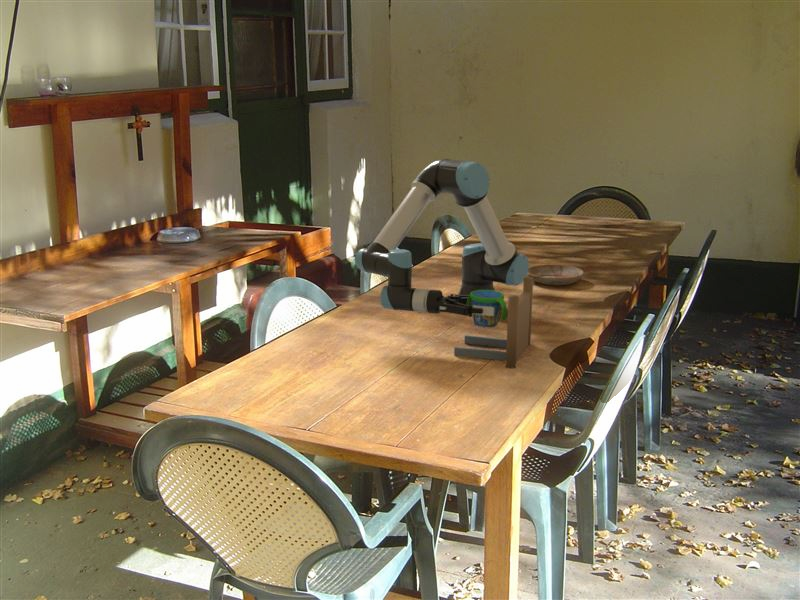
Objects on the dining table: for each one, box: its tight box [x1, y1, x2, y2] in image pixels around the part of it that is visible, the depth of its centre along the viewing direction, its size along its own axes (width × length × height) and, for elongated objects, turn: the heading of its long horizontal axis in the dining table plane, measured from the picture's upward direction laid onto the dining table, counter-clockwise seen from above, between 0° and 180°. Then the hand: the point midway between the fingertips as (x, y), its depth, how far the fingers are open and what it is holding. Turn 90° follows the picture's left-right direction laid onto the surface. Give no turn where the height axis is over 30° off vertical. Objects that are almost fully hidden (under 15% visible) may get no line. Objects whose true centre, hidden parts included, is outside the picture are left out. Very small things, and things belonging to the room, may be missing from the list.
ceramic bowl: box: [527, 264, 585, 286], centre depth 384 cm, size 23×24×5 cm
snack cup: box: [466, 289, 508, 328], centre depth 292 cm, size 16×10×10 cm
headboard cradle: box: [453, 276, 534, 369], centre depth 293 cm, size 27×20×22 cm
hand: (497, 307), depth 291 cm, fingers closed on snack cup, 9 cm apart
